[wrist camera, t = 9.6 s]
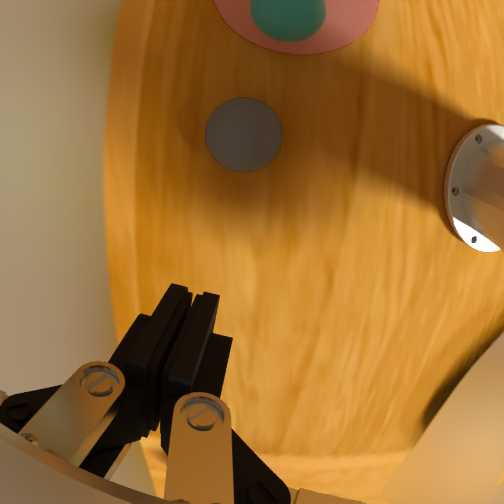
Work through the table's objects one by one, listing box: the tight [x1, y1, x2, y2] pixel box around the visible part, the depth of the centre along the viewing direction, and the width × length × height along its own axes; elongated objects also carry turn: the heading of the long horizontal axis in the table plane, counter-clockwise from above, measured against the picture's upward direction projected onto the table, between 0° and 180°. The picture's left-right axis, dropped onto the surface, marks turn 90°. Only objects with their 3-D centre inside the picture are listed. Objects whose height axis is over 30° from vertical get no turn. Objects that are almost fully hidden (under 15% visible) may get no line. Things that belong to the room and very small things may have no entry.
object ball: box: [250, 0, 326, 42], centre depth 17 cm, size 6×6×6 cm
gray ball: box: [205, 97, 282, 172], centre depth 21 cm, size 6×6×6 cm
